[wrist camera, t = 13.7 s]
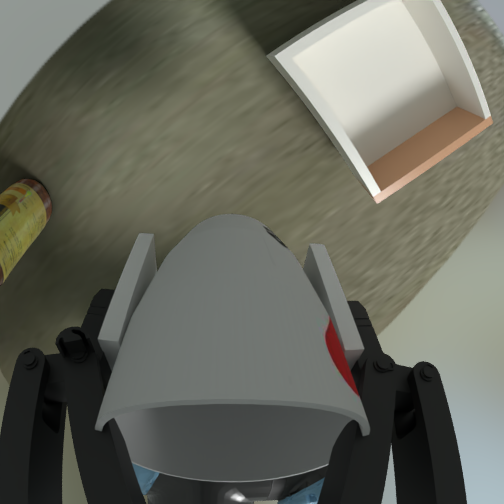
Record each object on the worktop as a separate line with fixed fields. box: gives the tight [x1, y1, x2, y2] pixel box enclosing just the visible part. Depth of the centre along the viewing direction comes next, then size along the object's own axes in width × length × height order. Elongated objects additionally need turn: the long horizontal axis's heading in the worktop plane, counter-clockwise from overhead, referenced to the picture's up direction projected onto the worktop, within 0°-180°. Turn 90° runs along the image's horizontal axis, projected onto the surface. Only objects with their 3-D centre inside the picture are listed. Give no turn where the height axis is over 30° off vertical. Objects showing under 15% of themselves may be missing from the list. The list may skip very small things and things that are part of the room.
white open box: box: [266, 0, 493, 204], centre depth 19 cm, size 12×12×8 cm
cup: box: [95, 214, 370, 482], centre depth 12 cm, size 8×8×10 cm
